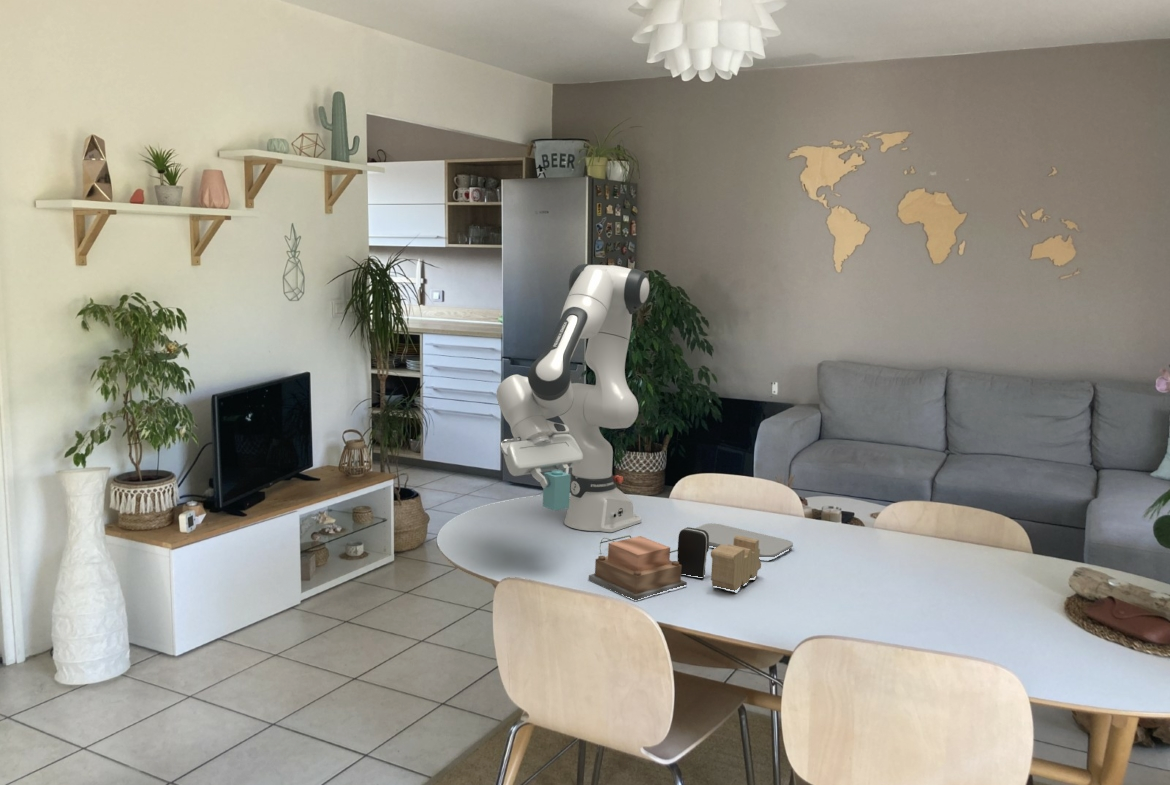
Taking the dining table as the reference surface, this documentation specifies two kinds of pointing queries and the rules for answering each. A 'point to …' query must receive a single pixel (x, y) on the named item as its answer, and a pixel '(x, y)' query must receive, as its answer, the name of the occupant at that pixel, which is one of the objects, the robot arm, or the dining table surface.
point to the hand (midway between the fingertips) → (557, 484)
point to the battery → (693, 551)
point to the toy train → (735, 563)
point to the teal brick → (557, 490)
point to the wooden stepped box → (637, 568)
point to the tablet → (766, 543)
